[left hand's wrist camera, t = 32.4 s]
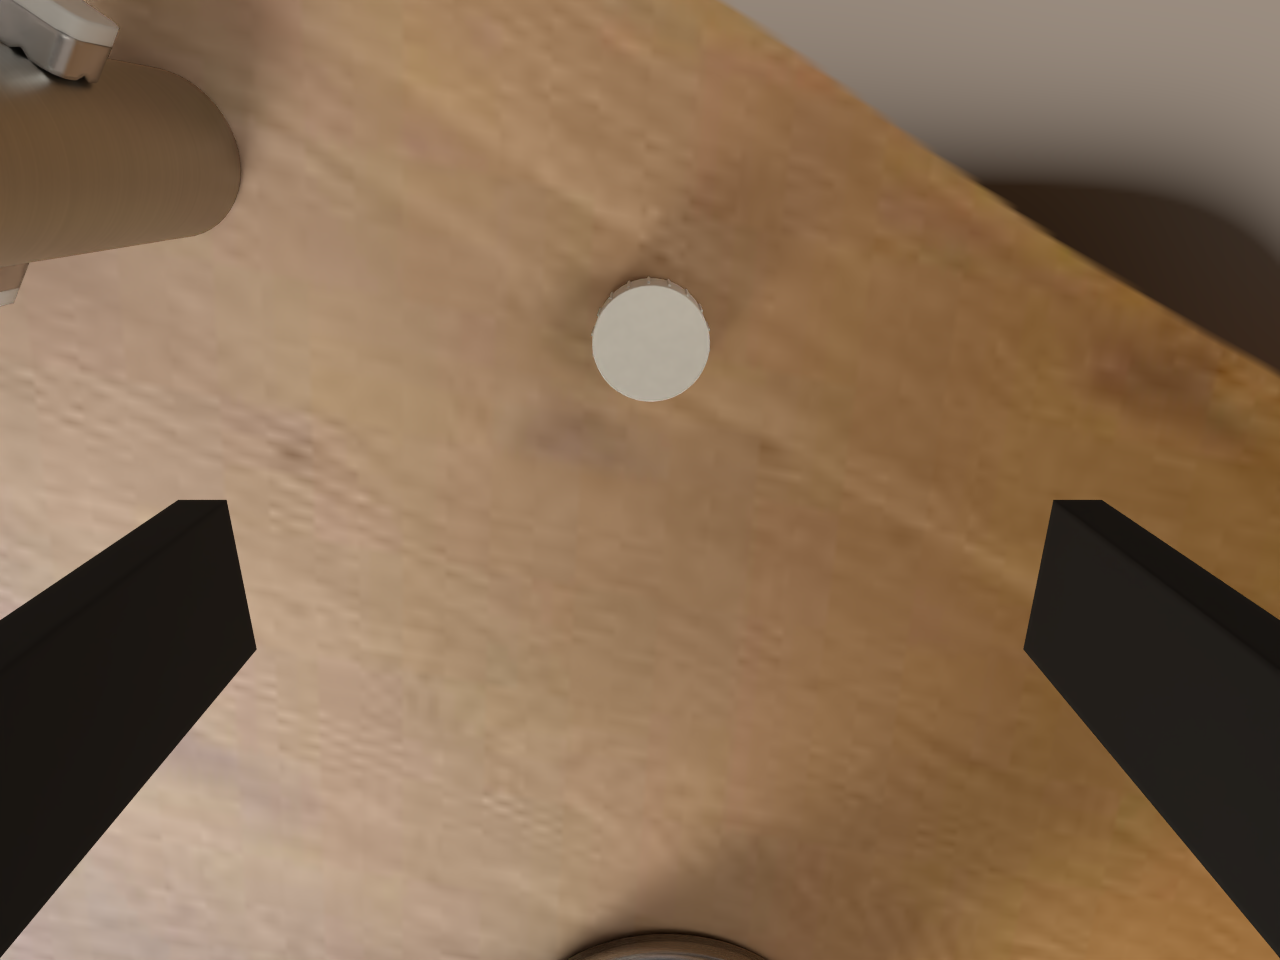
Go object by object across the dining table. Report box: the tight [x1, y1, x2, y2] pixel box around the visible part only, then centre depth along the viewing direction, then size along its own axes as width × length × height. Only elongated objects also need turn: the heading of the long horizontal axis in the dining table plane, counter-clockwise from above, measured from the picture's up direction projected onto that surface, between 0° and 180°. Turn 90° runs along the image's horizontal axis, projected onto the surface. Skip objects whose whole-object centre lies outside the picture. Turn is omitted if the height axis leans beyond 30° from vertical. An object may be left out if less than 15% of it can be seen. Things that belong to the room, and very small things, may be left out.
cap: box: [591, 276, 710, 402], centre depth 26 cm, size 4×4×2 cm
